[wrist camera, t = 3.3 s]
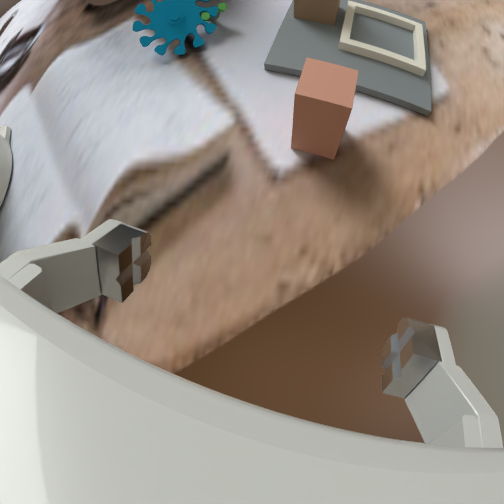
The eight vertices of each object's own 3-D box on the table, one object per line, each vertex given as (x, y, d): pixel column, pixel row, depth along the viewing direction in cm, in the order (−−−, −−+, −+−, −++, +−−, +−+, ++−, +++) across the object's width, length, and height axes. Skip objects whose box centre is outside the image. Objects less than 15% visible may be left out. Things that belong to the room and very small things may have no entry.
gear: (137, 64, 29) (127, -10, 23) (143, 65, 34) (134, 1, 28) (233, 46, 30) (223, -27, 24) (226, 50, 35) (218, -14, 29)
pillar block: (290, 148, 27) (294, 93, 19) (300, 114, 28) (306, 57, 20) (333, 159, 27) (351, 108, 19) (341, 125, 27) (358, 70, 19)
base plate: (264, 69, 29) (261, 21, 22) (299, -8, 32) (300, -46, 25) (427, 116, 27) (454, 77, 20) (422, 26, 30) (437, -8, 23)
